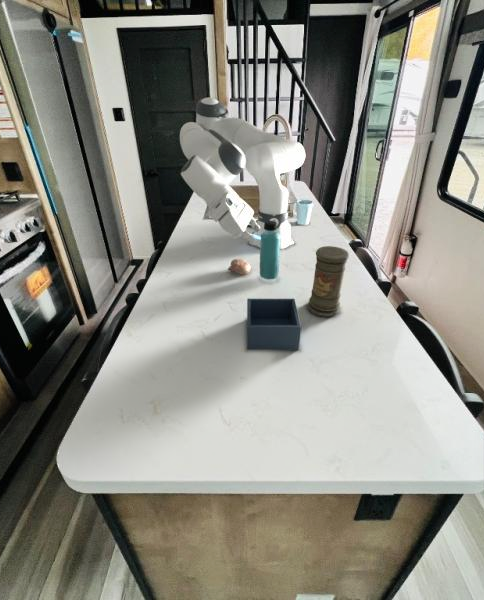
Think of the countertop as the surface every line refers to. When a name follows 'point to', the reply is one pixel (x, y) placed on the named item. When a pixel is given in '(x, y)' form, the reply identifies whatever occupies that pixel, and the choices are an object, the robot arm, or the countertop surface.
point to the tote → (272, 324)
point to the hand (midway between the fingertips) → (256, 235)
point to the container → (328, 281)
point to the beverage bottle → (269, 251)
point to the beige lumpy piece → (239, 267)
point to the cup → (303, 211)
